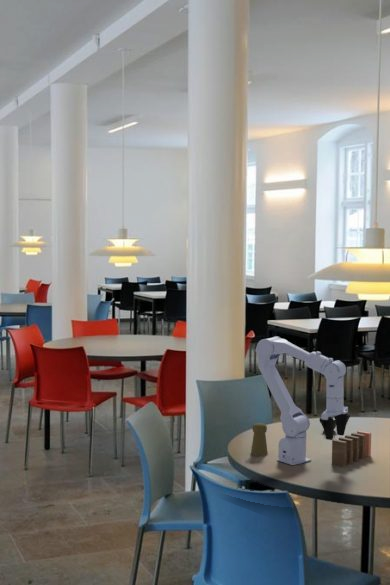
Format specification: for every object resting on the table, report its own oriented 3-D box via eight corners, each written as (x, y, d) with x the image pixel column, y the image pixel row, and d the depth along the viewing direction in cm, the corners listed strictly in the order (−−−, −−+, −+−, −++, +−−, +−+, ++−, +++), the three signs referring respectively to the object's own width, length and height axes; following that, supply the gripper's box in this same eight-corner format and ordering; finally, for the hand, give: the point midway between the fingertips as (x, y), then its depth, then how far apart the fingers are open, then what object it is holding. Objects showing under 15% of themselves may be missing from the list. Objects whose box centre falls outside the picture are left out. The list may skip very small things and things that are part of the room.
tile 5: (368, 456, 292) (369, 433, 291) (356, 454, 295) (357, 431, 294) (370, 456, 293) (371, 432, 292) (358, 453, 296) (359, 430, 295)
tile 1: (344, 467, 279) (344, 442, 278) (331, 464, 282) (332, 440, 282) (346, 466, 280) (346, 441, 280) (334, 463, 283) (334, 439, 283)
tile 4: (362, 459, 289) (363, 435, 288) (350, 456, 292) (351, 433, 291) (364, 458, 290) (365, 434, 289) (352, 455, 293) (353, 432, 292)
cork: (266, 451, 298) (267, 421, 297) (268, 456, 292) (269, 425, 291) (250, 451, 298) (250, 421, 297) (251, 456, 291) (252, 425, 291)
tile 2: (350, 464, 282) (350, 440, 282) (338, 461, 285) (338, 437, 285) (352, 463, 283) (353, 439, 283) (340, 460, 287) (341, 437, 286)
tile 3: (356, 461, 285) (357, 438, 285) (344, 459, 288) (344, 435, 288) (358, 460, 287) (359, 437, 286) (346, 458, 290) (347, 434, 289)
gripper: (334, 402, 268) (334, 443, 269) (355, 395, 280) (355, 434, 281) (315, 399, 273) (316, 440, 274) (337, 393, 284) (337, 431, 285)
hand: (335, 437), depth 277 cm, fingers open, 7 cm apart
